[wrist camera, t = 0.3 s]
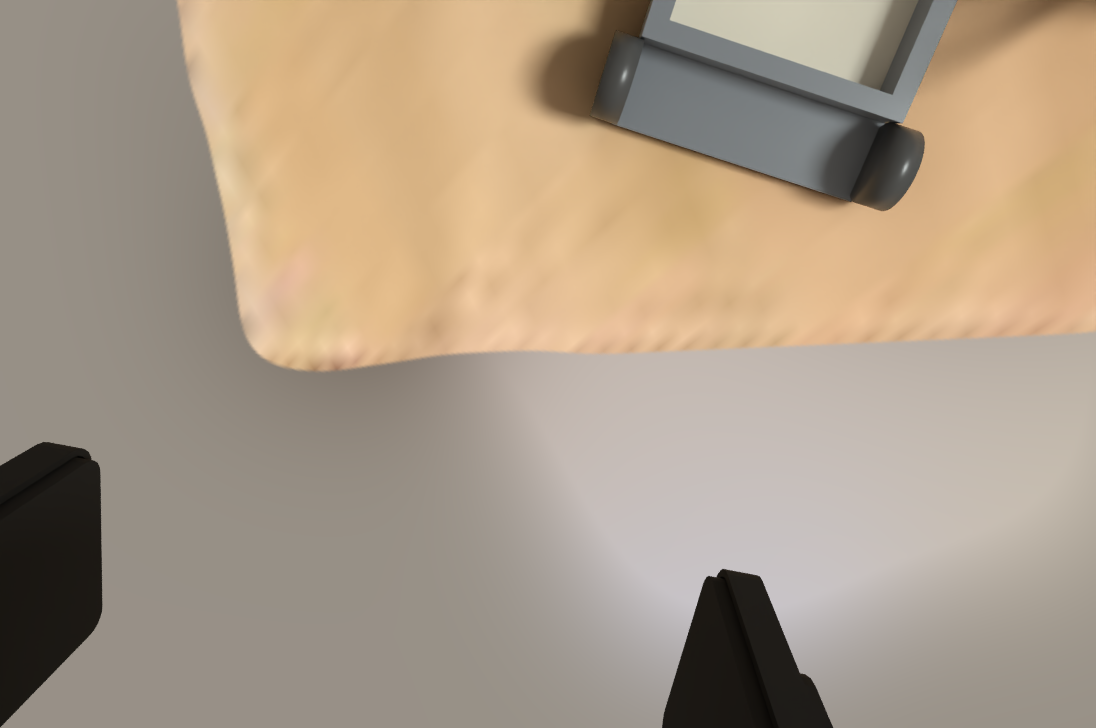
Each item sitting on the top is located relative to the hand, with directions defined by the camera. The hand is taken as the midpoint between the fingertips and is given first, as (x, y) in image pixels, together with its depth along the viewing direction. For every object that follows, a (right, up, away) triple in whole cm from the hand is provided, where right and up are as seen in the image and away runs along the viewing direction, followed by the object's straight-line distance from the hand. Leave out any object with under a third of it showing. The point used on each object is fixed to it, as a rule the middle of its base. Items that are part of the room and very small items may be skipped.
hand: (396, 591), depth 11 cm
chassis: (+14, +22, +24) cm, 35 cm away
